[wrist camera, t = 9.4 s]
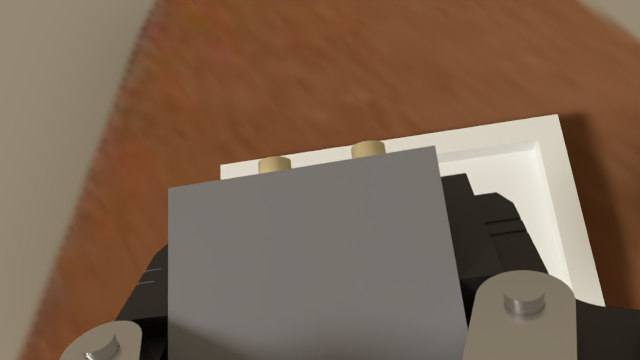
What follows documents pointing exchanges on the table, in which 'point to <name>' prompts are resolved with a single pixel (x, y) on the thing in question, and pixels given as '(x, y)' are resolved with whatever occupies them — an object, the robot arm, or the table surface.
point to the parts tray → (504, 185)
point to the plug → (316, 262)
